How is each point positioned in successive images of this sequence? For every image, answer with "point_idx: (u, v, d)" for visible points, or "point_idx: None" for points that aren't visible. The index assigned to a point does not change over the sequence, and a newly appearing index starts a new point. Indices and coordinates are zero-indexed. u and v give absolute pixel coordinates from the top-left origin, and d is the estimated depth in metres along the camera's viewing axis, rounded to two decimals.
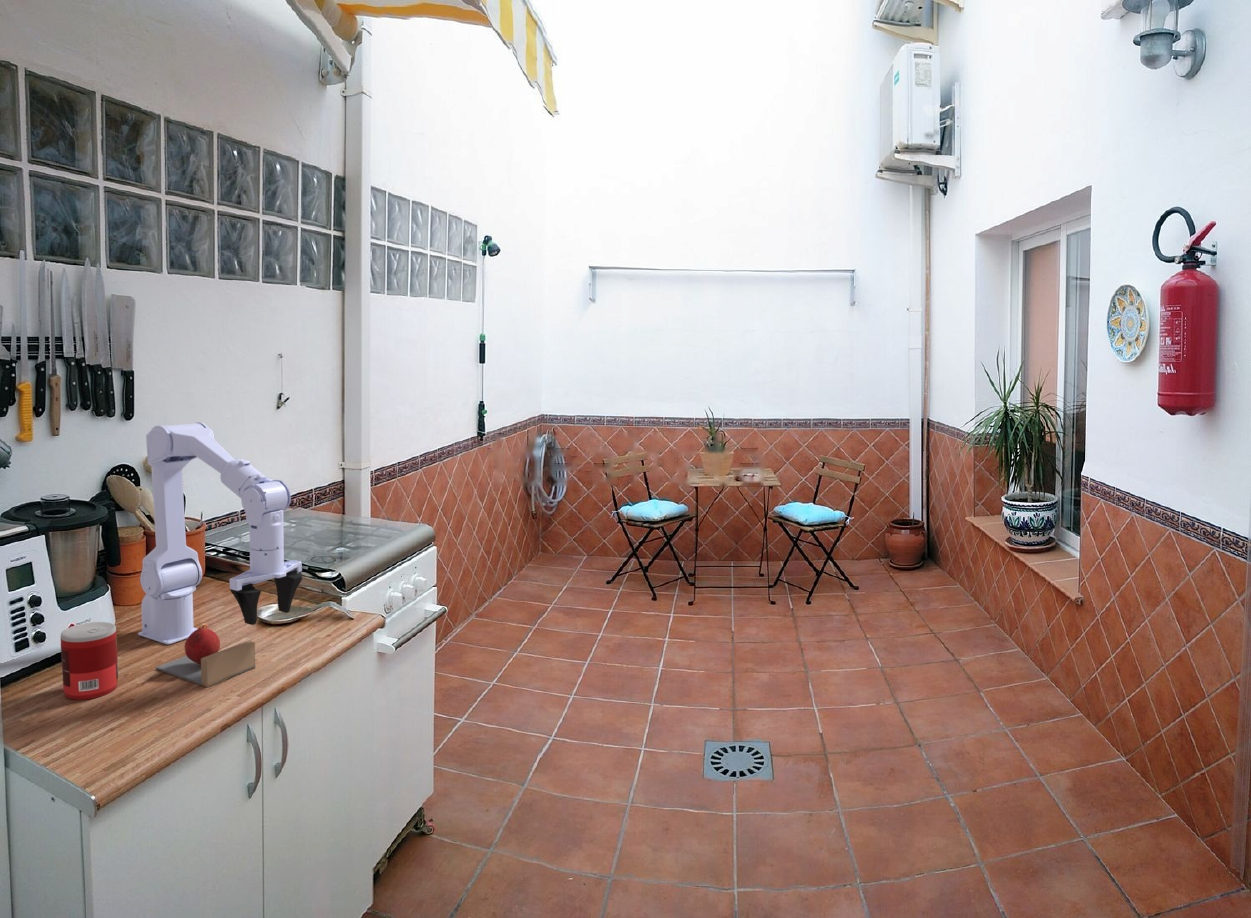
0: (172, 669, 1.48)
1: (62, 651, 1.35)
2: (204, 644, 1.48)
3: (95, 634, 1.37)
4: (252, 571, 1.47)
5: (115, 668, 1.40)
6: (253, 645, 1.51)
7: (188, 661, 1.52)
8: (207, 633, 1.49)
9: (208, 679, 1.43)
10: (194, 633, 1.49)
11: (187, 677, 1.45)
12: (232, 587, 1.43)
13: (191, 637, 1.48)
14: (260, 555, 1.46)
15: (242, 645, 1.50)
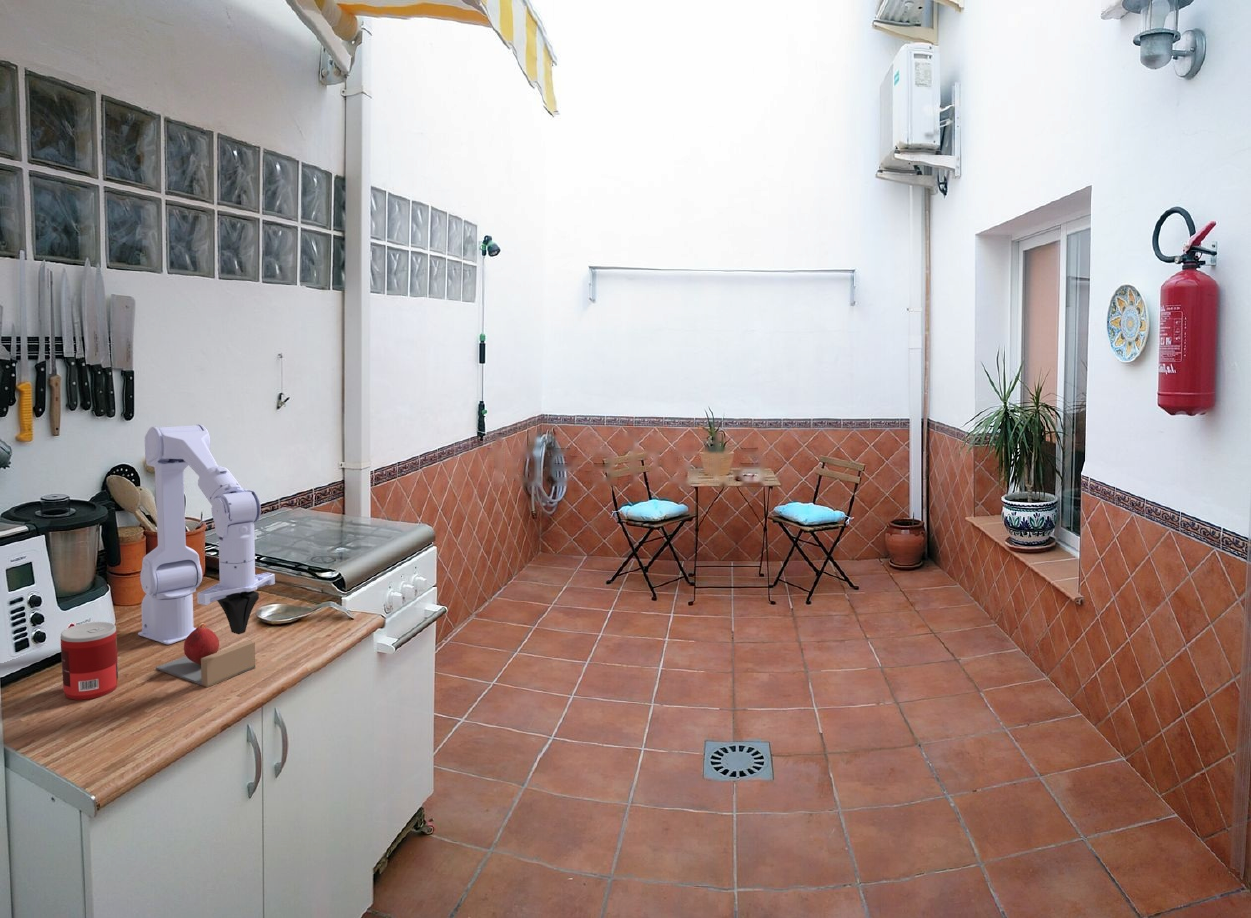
0: (172, 669, 1.48)
1: (62, 651, 1.35)
2: (203, 643, 1.48)
3: (95, 634, 1.37)
4: (221, 584, 1.42)
5: (115, 668, 1.40)
6: (253, 645, 1.51)
7: (188, 661, 1.52)
8: (205, 632, 1.49)
9: (208, 679, 1.43)
10: (192, 633, 1.49)
11: (187, 677, 1.45)
12: (199, 601, 1.38)
13: (190, 637, 1.48)
14: (229, 568, 1.41)
15: (242, 645, 1.50)
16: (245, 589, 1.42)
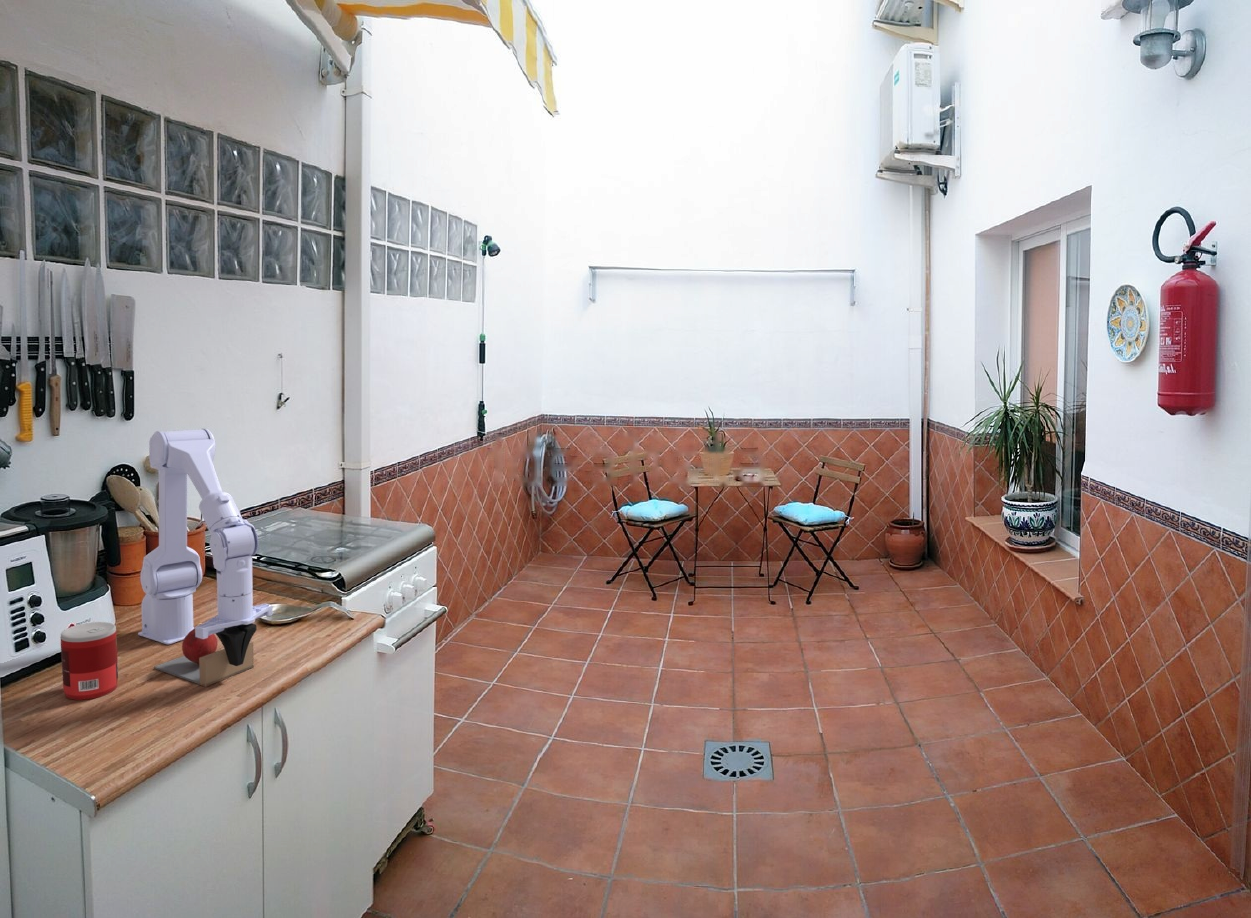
0: (170, 669, 1.48)
1: (62, 651, 1.35)
2: (201, 643, 1.48)
3: (95, 634, 1.37)
4: (219, 617, 1.43)
5: (115, 668, 1.40)
6: (251, 645, 1.51)
7: (186, 660, 1.52)
8: None
9: (206, 678, 1.43)
10: (191, 632, 1.49)
11: (185, 676, 1.46)
12: (197, 635, 1.39)
13: (188, 636, 1.49)
14: (227, 601, 1.42)
15: None
16: (243, 622, 1.43)
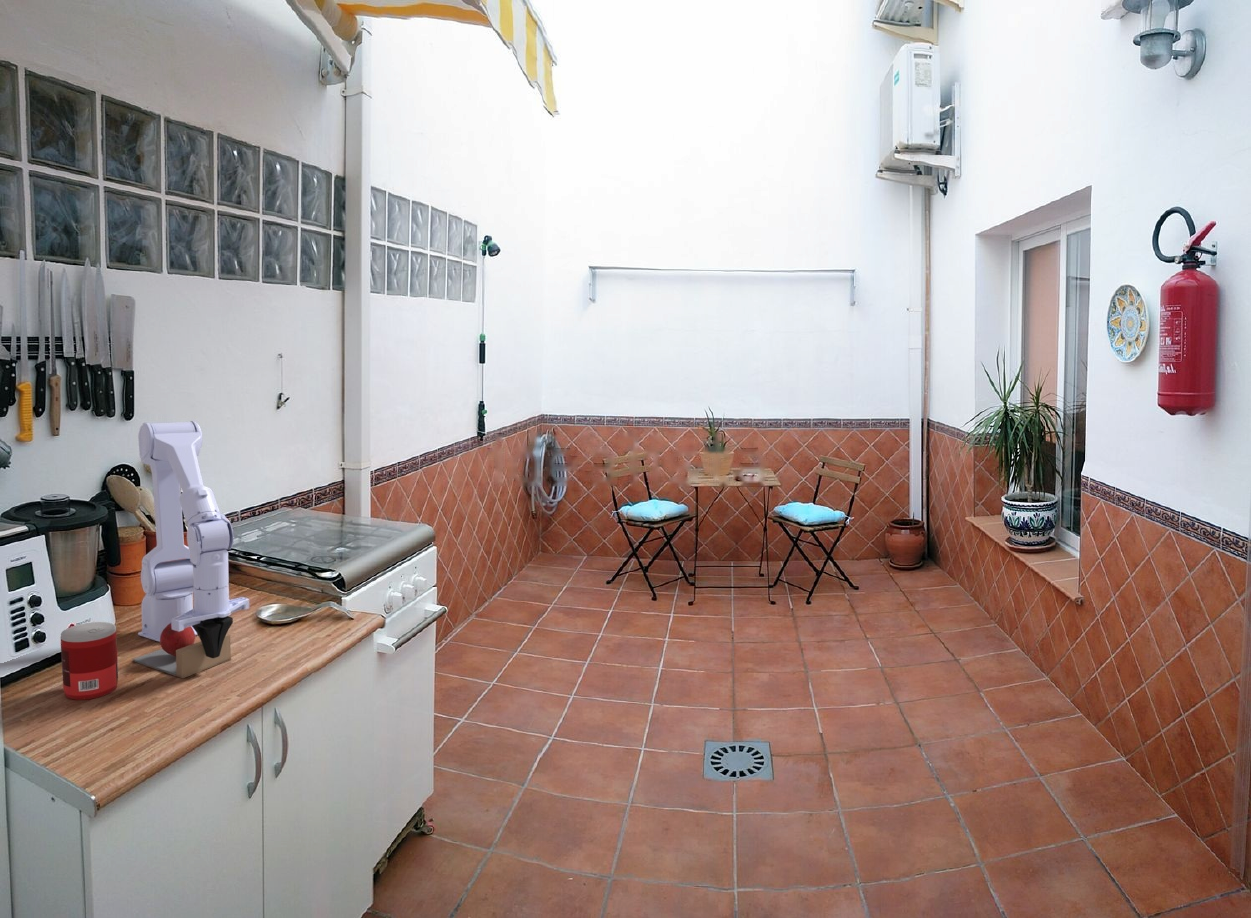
0: (148, 661, 1.51)
1: (62, 651, 1.35)
2: (178, 636, 1.51)
3: (95, 634, 1.37)
4: (196, 610, 1.45)
5: (115, 668, 1.40)
6: (228, 637, 1.54)
7: (165, 653, 1.55)
8: None
9: (183, 670, 1.46)
10: (168, 626, 1.51)
11: (163, 669, 1.48)
12: (173, 627, 1.42)
13: (166, 630, 1.51)
14: (203, 595, 1.44)
15: None
16: (219, 615, 1.45)
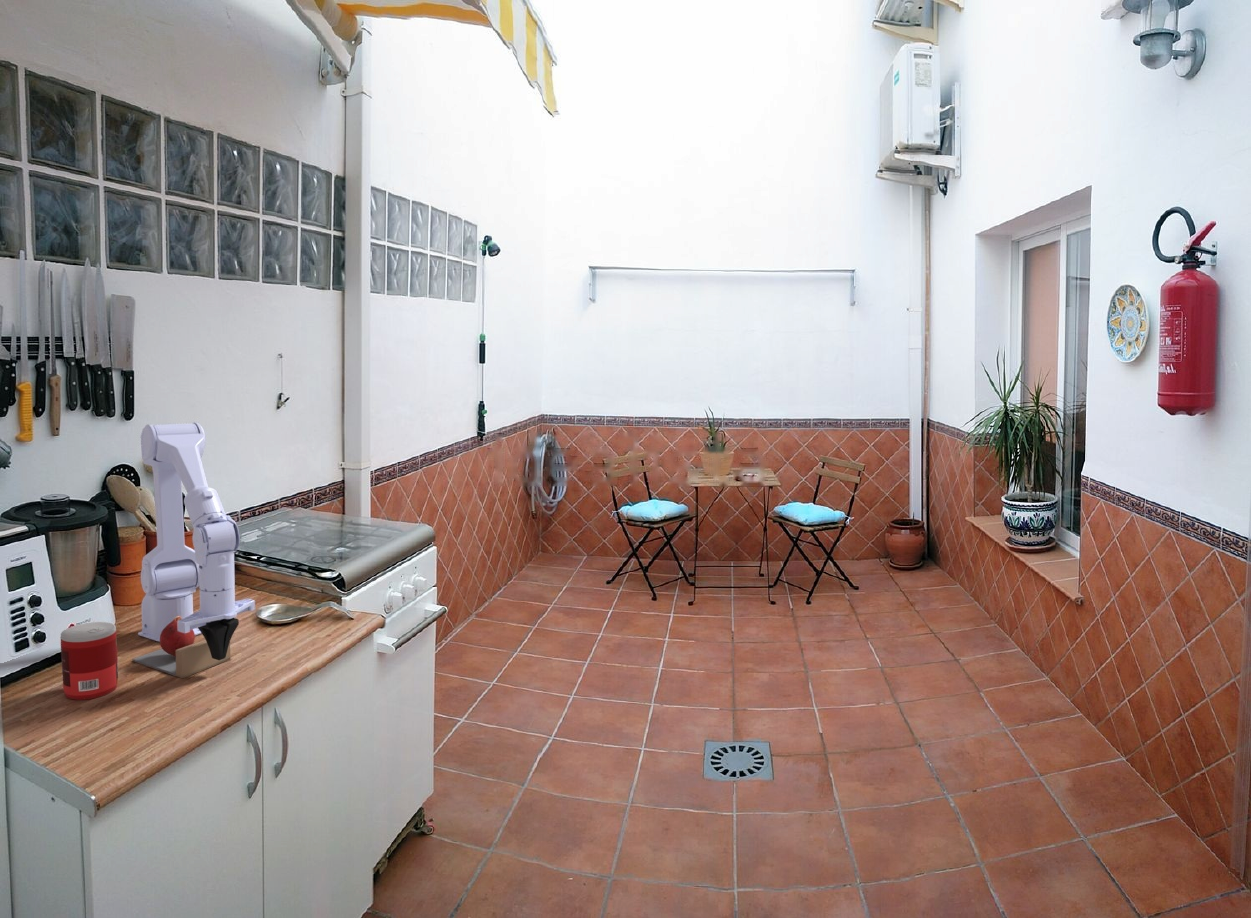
0: (148, 661, 1.51)
1: (62, 651, 1.35)
2: (178, 636, 1.51)
3: (95, 634, 1.37)
4: (202, 612, 1.45)
5: (115, 668, 1.40)
6: None
7: (164, 653, 1.55)
8: None
9: (183, 670, 1.46)
10: (168, 625, 1.52)
11: (162, 668, 1.48)
12: (179, 629, 1.41)
13: (165, 629, 1.51)
14: (209, 596, 1.44)
15: None
16: (225, 616, 1.45)
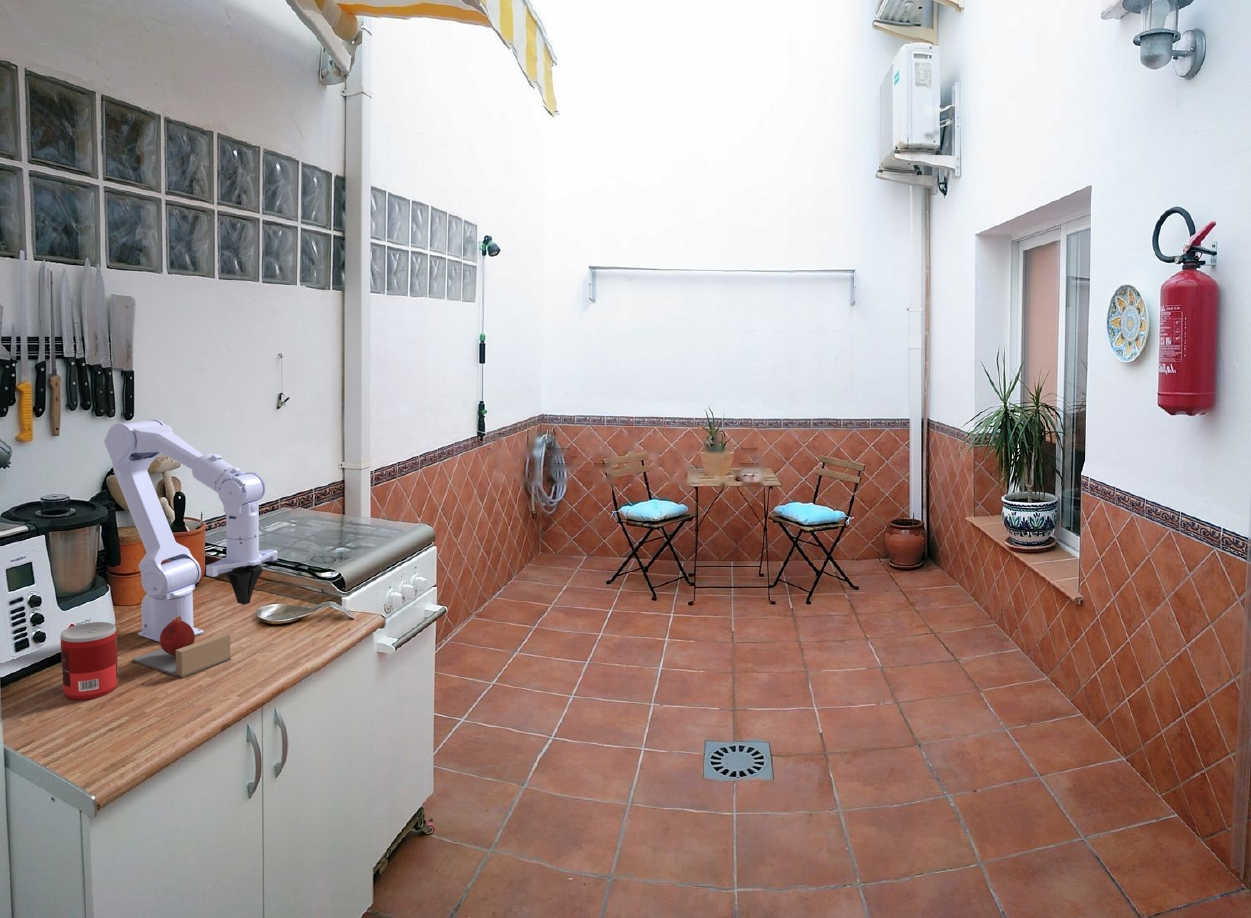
0: (148, 661, 1.51)
1: (62, 651, 1.35)
2: (178, 636, 1.51)
3: (95, 634, 1.37)
4: (228, 559, 1.55)
5: (115, 668, 1.40)
6: (228, 637, 1.54)
7: (164, 653, 1.55)
8: (180, 625, 1.52)
9: (183, 670, 1.46)
10: (168, 625, 1.52)
11: (162, 668, 1.48)
12: (208, 573, 1.52)
13: (165, 629, 1.51)
14: (235, 544, 1.54)
15: (217, 637, 1.52)
16: (249, 563, 1.55)
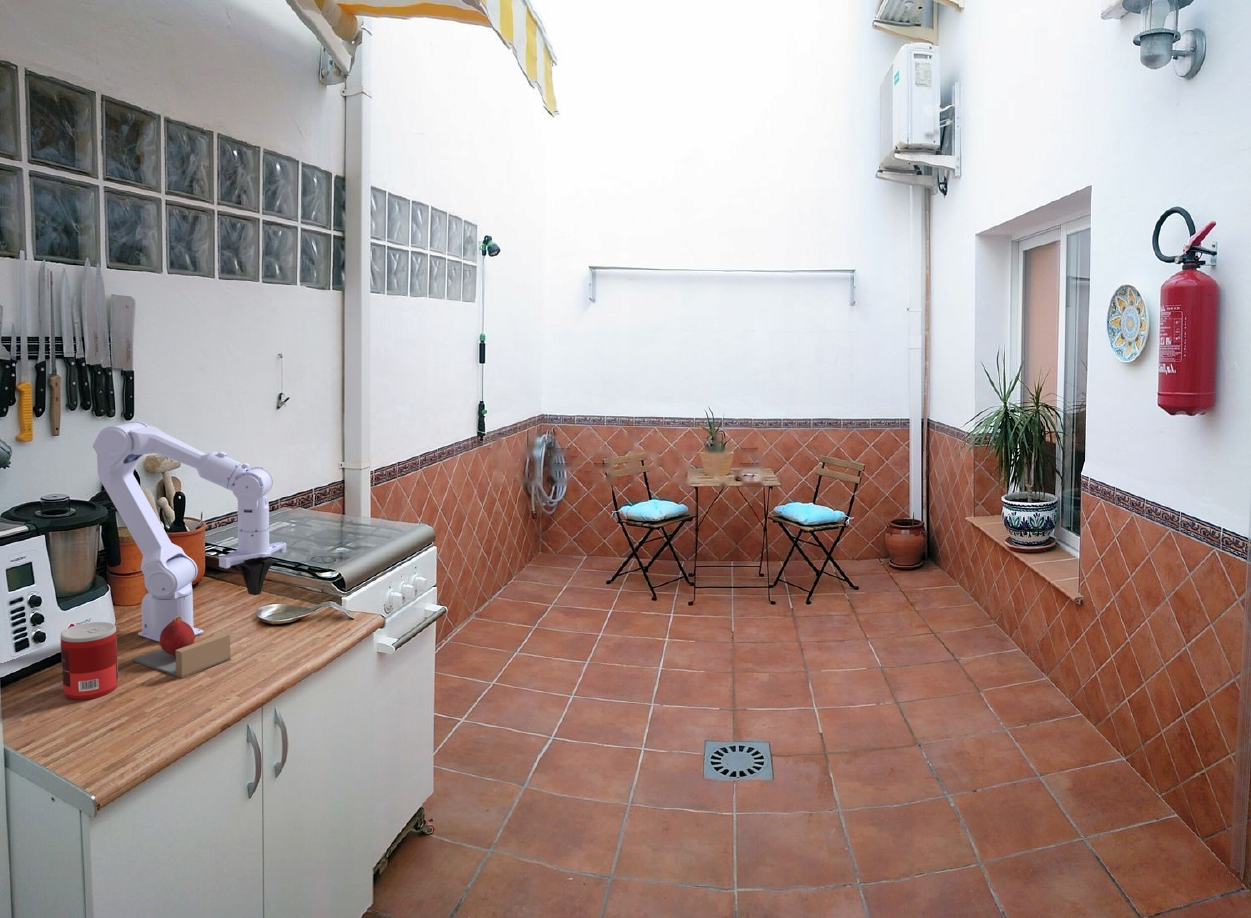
0: (148, 661, 1.51)
1: (62, 651, 1.35)
2: (178, 636, 1.51)
3: (95, 634, 1.37)
4: (240, 551, 1.61)
5: (115, 668, 1.40)
6: (228, 637, 1.54)
7: (164, 653, 1.55)
8: (180, 625, 1.52)
9: (183, 670, 1.46)
10: (168, 625, 1.52)
11: (162, 668, 1.48)
12: (221, 564, 1.57)
13: (165, 629, 1.51)
14: (247, 536, 1.60)
15: (217, 637, 1.52)
16: (261, 555, 1.61)
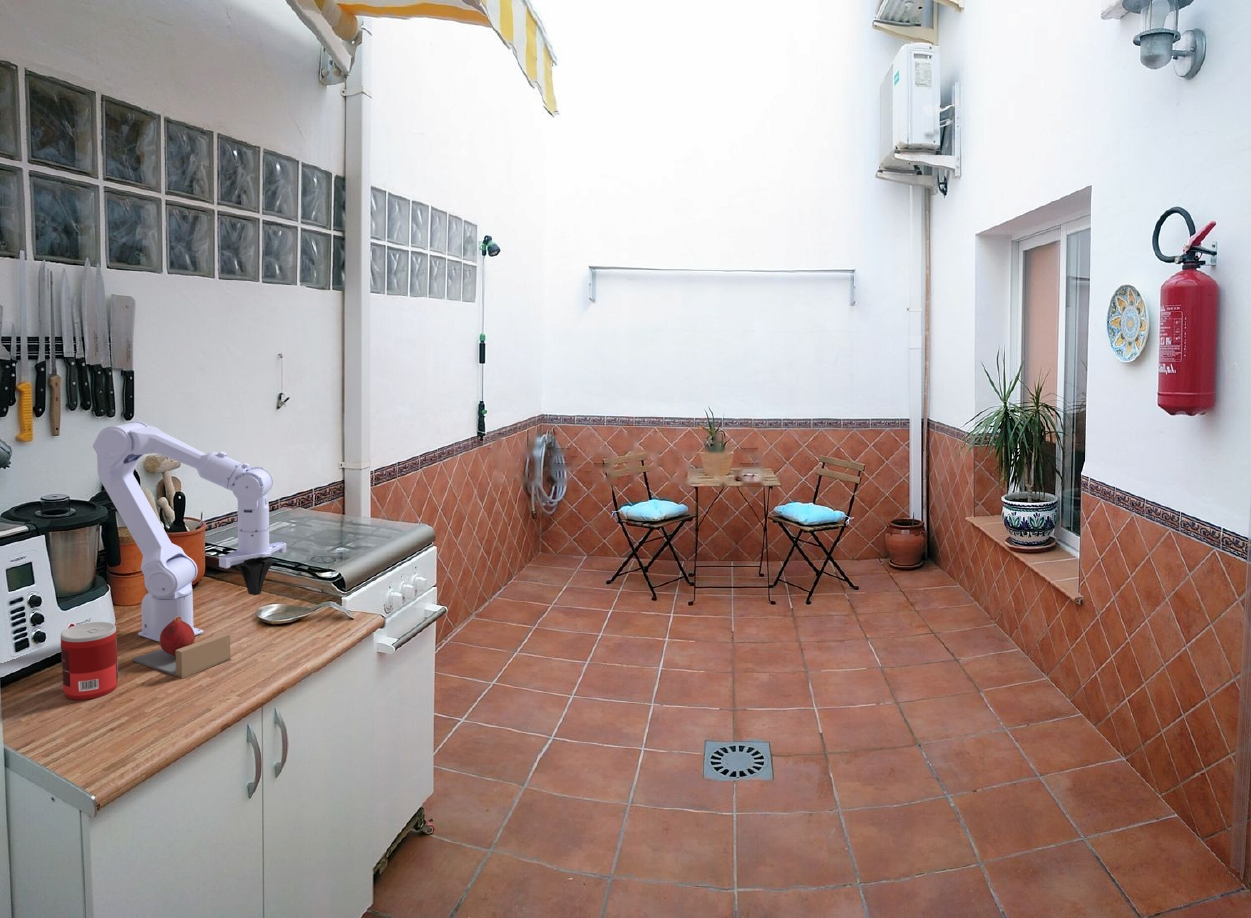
0: (148, 661, 1.51)
1: (62, 651, 1.35)
2: (178, 636, 1.51)
3: (95, 634, 1.37)
4: (240, 551, 1.61)
5: (115, 668, 1.40)
6: (228, 637, 1.54)
7: (164, 653, 1.55)
8: (180, 625, 1.52)
9: (183, 670, 1.46)
10: (168, 625, 1.52)
11: (162, 668, 1.48)
12: (221, 564, 1.57)
13: (165, 629, 1.51)
14: (247, 536, 1.60)
15: (217, 637, 1.52)
16: (261, 555, 1.61)
